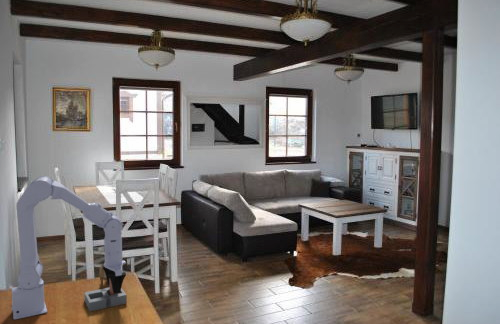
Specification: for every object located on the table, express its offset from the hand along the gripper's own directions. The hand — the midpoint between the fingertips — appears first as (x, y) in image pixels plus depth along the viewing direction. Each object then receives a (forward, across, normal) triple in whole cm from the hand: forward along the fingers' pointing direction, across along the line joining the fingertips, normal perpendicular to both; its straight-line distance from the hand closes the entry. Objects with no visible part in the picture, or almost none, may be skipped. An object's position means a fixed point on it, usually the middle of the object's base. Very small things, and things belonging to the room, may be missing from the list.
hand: (114, 288), depth 144 cm
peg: (+4, 0, 0) cm, 4 cm away
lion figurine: (+4, +16, -2) cm, 17 cm away
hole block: (+4, 0, +3) cm, 5 cm away
